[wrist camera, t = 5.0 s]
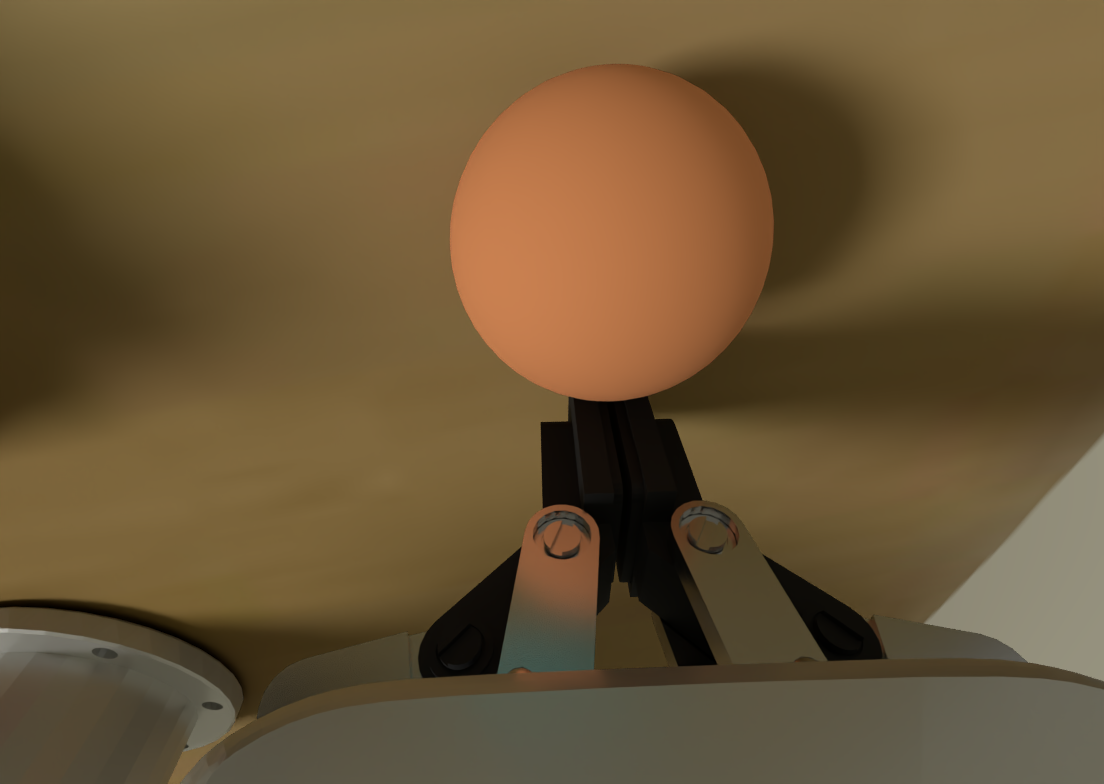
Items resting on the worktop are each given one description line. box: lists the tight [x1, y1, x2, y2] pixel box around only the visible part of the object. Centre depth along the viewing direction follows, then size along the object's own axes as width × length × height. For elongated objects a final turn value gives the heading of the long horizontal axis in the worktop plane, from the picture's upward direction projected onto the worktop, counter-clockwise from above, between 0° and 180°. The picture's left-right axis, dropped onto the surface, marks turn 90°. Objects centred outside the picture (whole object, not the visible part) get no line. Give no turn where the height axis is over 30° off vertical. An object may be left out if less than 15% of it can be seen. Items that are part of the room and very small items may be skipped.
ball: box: [450, 64, 774, 401], centre depth 9 cm, size 6×6×6 cm
